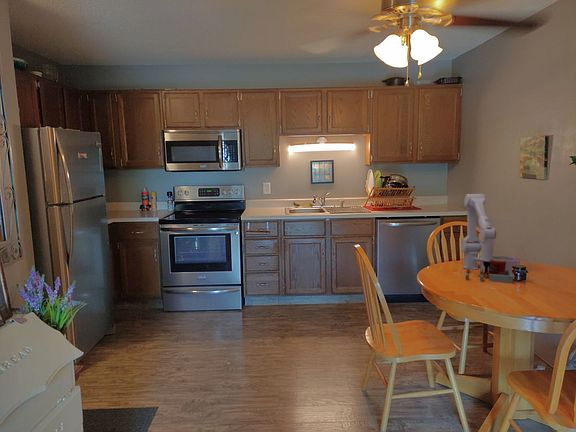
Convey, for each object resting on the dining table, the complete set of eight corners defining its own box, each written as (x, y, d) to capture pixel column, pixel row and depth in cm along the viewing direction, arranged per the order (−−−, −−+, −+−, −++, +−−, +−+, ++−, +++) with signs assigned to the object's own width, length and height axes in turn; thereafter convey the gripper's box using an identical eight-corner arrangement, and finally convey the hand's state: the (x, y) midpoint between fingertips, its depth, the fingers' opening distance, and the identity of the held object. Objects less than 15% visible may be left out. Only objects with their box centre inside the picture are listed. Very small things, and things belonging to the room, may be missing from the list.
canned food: (502, 277, 217) (505, 257, 215) (504, 281, 210) (507, 261, 208) (486, 275, 219) (489, 255, 217) (488, 279, 212) (491, 259, 210)
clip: (479, 270, 232) (480, 258, 231) (480, 265, 243) (481, 254, 242) (519, 274, 223) (520, 262, 222) (518, 268, 234) (519, 257, 233)
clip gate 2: (480, 272, 227) (480, 268, 227) (483, 272, 226) (483, 268, 226) (479, 281, 210) (480, 276, 210) (483, 281, 209) (483, 277, 209)
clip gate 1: (466, 271, 230) (466, 266, 230) (469, 271, 229) (469, 267, 229) (465, 279, 213) (465, 275, 213) (468, 280, 212) (468, 275, 212)
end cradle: (488, 274, 223) (488, 268, 222) (510, 276, 218) (511, 270, 218) (489, 280, 211) (489, 274, 210) (512, 283, 206) (512, 276, 206)
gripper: (472, 250, 215) (471, 275, 216) (502, 253, 208) (501, 278, 210) (472, 248, 221) (471, 272, 223) (502, 250, 215) (501, 275, 216)
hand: (486, 275), depth 217 cm, fingers closed, pressing on canned food
